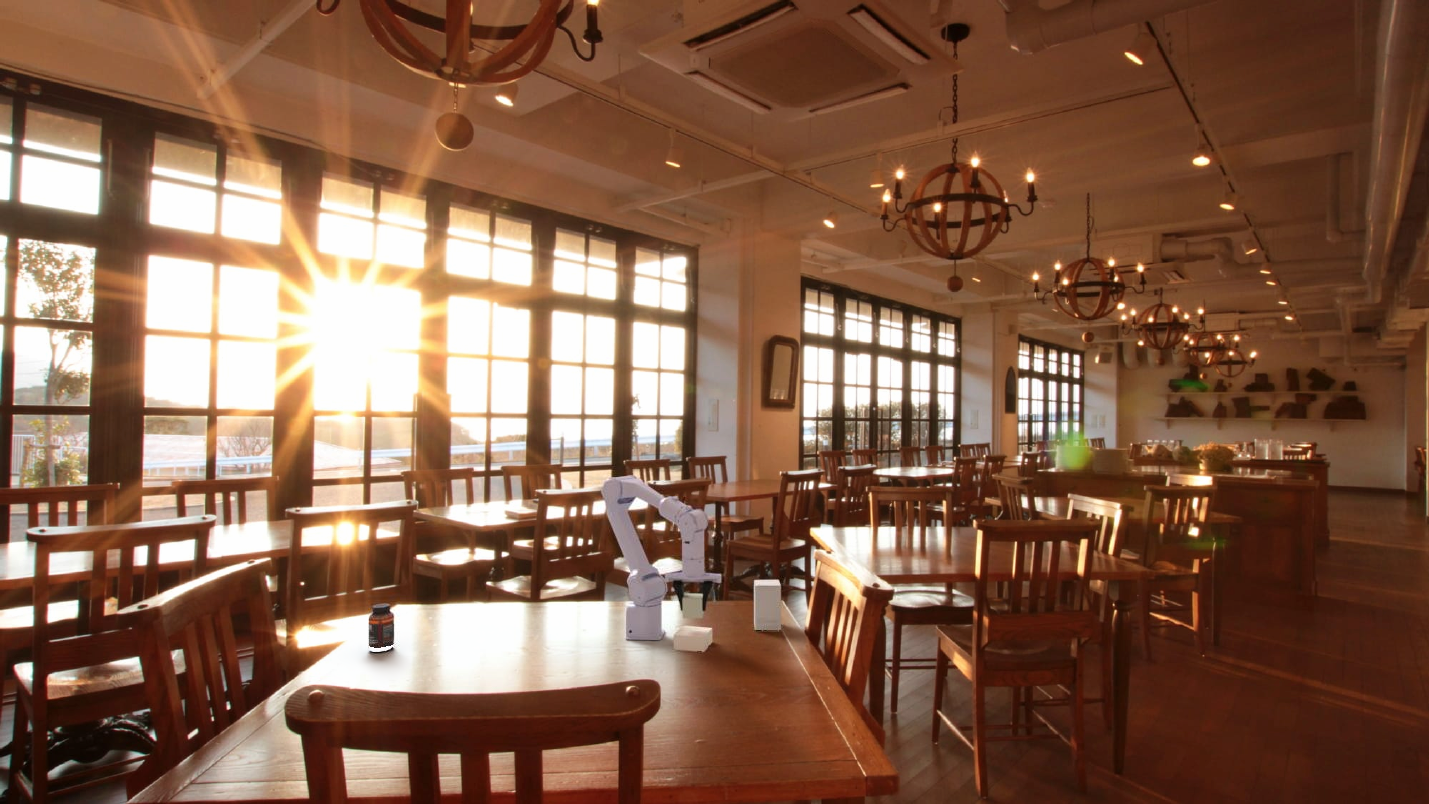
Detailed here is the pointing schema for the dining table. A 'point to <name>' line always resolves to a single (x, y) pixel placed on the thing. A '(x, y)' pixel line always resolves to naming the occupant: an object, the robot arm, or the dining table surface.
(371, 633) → the supplement bottle
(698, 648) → the cream block
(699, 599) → the sage block
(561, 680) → the dining table surface
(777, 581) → the supplement box
